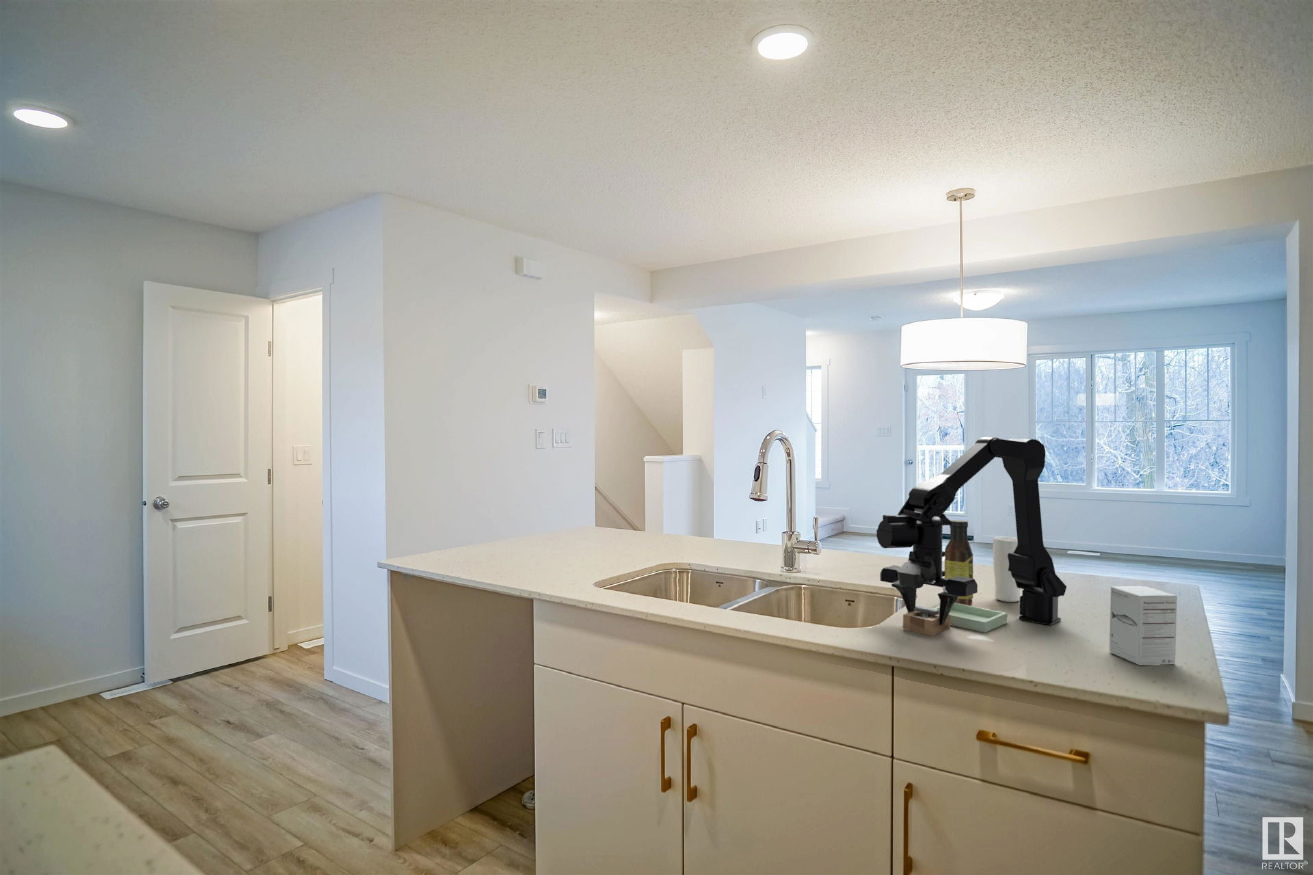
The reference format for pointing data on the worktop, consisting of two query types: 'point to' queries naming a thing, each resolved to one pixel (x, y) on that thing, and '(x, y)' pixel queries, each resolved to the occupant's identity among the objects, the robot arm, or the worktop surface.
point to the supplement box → (1143, 625)
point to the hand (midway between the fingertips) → (926, 621)
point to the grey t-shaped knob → (926, 611)
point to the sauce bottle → (959, 556)
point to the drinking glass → (1004, 569)
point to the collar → (924, 623)
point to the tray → (975, 617)
